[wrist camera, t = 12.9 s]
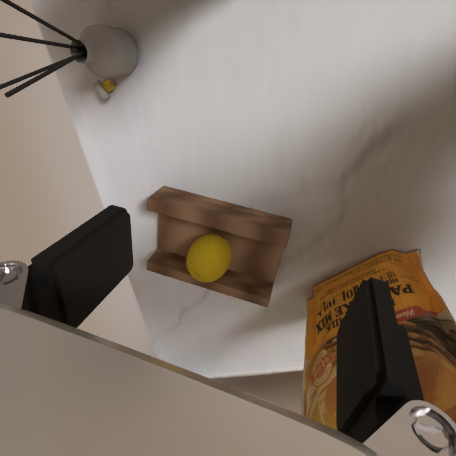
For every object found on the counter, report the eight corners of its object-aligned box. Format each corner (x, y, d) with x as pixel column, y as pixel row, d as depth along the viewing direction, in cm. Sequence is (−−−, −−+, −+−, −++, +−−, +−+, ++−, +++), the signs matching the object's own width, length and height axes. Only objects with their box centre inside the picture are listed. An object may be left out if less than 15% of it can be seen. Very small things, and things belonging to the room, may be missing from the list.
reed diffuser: (115, -4, 32) (-118, -74, 15) (170, 34, 32) (2, 7, 15) (92, 87, 37) (-96, 111, 20) (139, 118, 37) (-8, 167, 21)
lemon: (242, 255, 42) (227, 293, 35) (206, 259, 44) (186, 295, 37) (231, 221, 40) (213, 254, 33) (194, 226, 42) (170, 258, 35)
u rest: (292, 219, 38) (288, 237, 35) (272, 285, 44) (267, 307, 41) (163, 185, 41) (147, 199, 37) (161, 252, 47) (146, 269, 43)
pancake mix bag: (450, 269, 36) (691, 661, 13) (317, 323, 46) (312, 602, 22) (420, 229, 35) (627, 584, 11) (289, 293, 44) (253, 557, 21)
